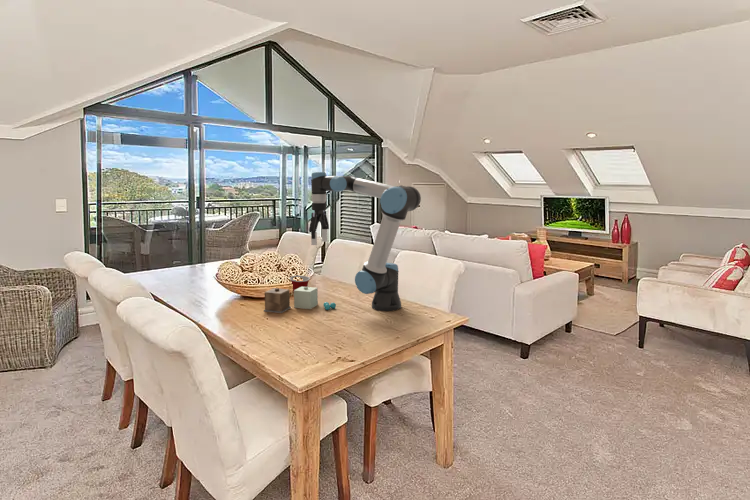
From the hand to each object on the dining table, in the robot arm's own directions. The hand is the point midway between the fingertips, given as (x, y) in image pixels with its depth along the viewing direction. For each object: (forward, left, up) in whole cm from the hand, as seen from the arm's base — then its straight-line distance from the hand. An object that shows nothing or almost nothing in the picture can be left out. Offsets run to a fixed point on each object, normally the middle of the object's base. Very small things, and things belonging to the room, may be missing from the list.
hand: (319, 243), depth 248 cm
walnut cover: (+15, +19, -31) cm, 39 cm away
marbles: (-3, +10, -32) cm, 34 cm away
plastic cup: (+13, -3, -32) cm, 35 cm away
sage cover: (+4, +9, -32) cm, 33 cm away
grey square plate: (+15, +19, -32) cm, 40 cm away
